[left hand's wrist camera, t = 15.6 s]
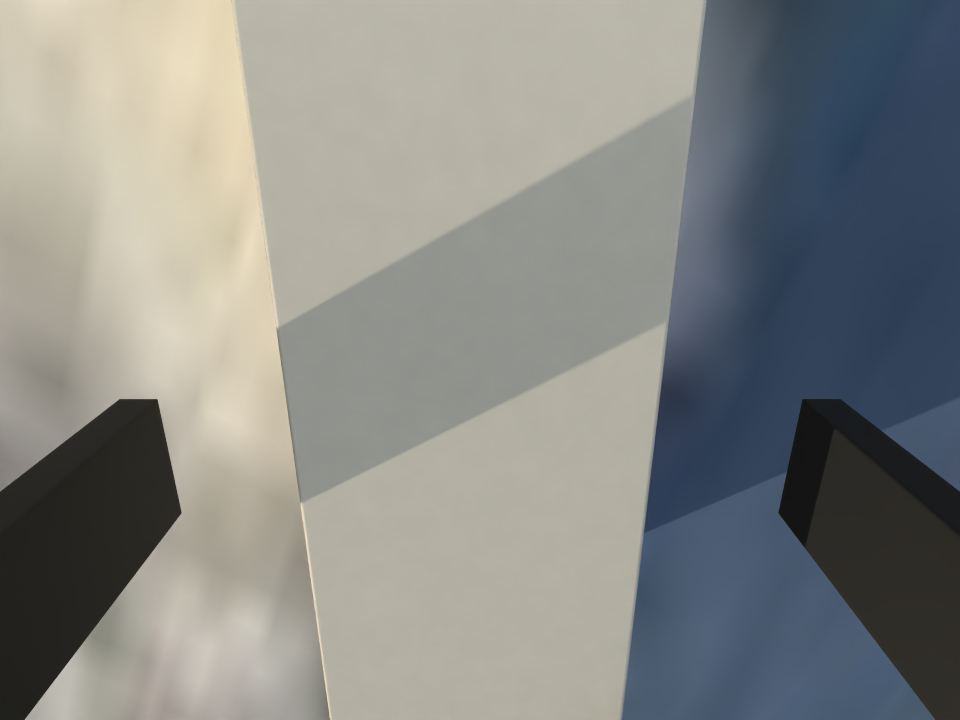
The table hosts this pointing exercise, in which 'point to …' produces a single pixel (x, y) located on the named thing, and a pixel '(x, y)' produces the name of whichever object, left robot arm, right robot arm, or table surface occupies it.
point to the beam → (472, 331)
